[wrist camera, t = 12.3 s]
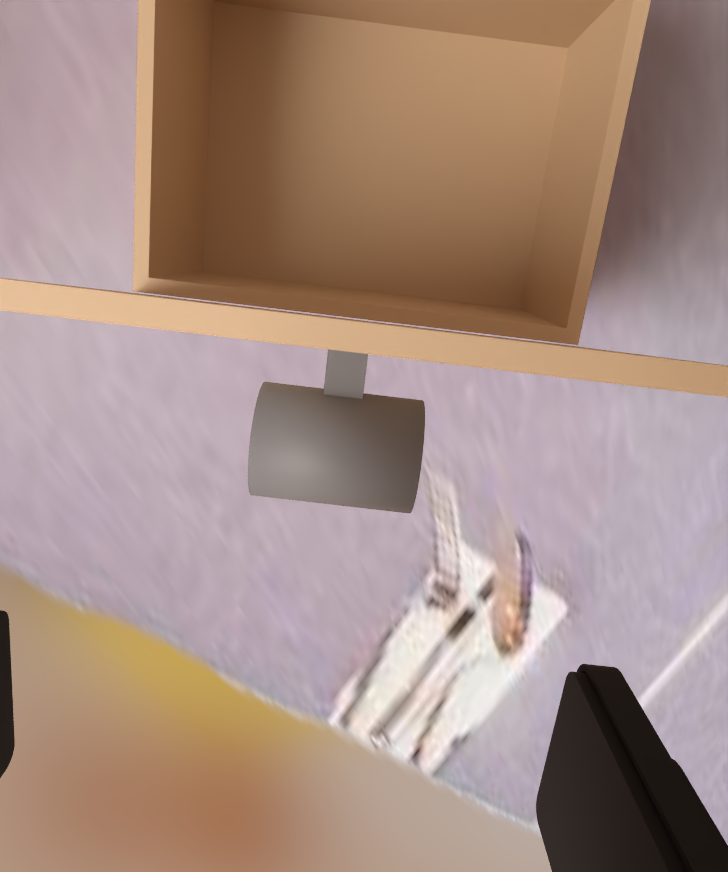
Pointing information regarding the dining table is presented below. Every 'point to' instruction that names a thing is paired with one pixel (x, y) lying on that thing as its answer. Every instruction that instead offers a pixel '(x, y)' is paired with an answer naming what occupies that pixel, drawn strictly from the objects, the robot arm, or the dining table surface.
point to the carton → (382, 156)
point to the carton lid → (350, 386)
